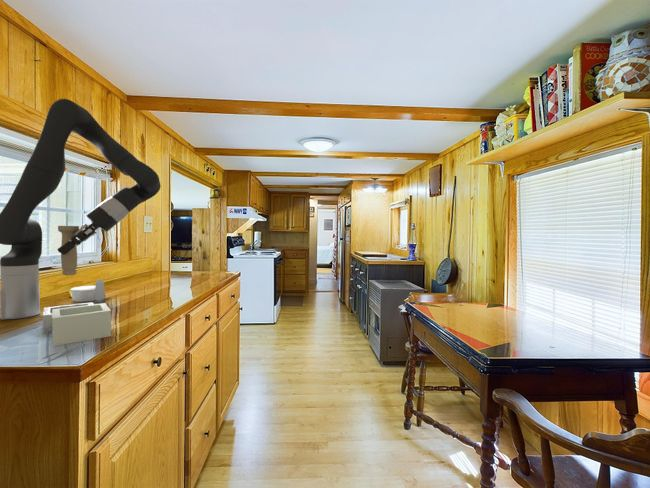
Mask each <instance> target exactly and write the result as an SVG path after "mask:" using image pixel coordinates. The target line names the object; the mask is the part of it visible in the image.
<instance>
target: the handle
mask: <svg viewBox="0 0 650 488" xmlns="http://www.w3.org/2000/svg"><path fill="white" fill-rule="evenodd" d="M79 229H80V226H79V225H57V230H58V231H57V232H60V233H61V245H60V247H62V246H63V245H64V244H66V243H67V242H69V239H71V238H72V237H74V234H75V233H76V232H77V231H78V230H79ZM60 261H61V263H60V264H61V269H62V271H61V273H62V276H74V275H77V268H78V248H77V246H75V247H74V248H73V249H71V250H70V251H69V252H68V253H66V254H65V255H63V254H61V253H60Z"/></svg>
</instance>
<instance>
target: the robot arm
mask: <svg viewBox="0 0 650 488" xmlns="http://www.w3.org/2000/svg"><path fill="white" fill-rule="evenodd" d="M71 133H74V134H76V135H78V136H80V137H82V138H83V139H85V140H86V141H87V142H89V143H90V144H92V145H93V147H95V148H96V149H97V150H98V152H100V154H101V155H102V156H103V157H104V159H105V160H106V161H107V162H108V163H110V164H111V165H112V166H113V167H114V168H115V169H116V170H117V171H119V172H120V173H121V174H123V175H124V176H128V177H130V178H131V179H132V180H133V181H134V182H135V185H133V186H131V187H127V186H126V187H123V188H121V189H119V190H118V191H117V192H114V194H112V195H111V196H110V197H108V198H106V199H104V201H102V202H101V203H99V204H98V205H97V206H96V207H94V208H93V209H91V210H90V211H89V212H88V213H87V214H86V217H87V218H88V220H90V223H89V224H88V223H83V225H82V226H80V227H79V230H78V231H77V232H76V233H75V234H74V237H72V238H71V239H69V242H67V243H66V244H64V245H63V246H62V247H61V246H60V247H58V248H57V251H58V253H60V255H61V254H63V255H65V254H66V253H68V252H69V251H70V250H71V249H73V248H74V247H75V246H76V247H77V246H80V245H82V243H83V242H86V241H87V240H89V239H90V238H91V237H93V236H95V235H96V234H97V230H98V229H101V230H102V231H103V232H106V233H107V232H109V231H110V230H111V229H112V228H114V227H115V226H116V225H118V223H120V222H121V221H123V219H124V218H125V217H126V216H128V215H129V214H130V212H132V211H133V210H134V209H135V208H136V207H138V206H139V205H140V204H142V203H144V202H146V201H147V200H150V199H152V198H153V197H155V196H156V195H157V194H159V192H160V190H161V187H162V186H161V181H160V177H159V175H158V173H157V172H156V171H155V170H154V169H153V168H152V167H151V166H149V165H147V164H145V163H144V162H142V161H140V160H139V159H138V158H137V157H135V156H134V155H133V154H132V153H131V152H130V151H128V150H127V149H126V147H124V146H123V145H121V144H120V142H118V141H117V140H115V139H114V138H113V137H112V136H111V135H109V134H108V132H107V131H106V130H105V129H104V128H103V127H102V126H101V125H100V123H99V122H98V121H97V120H96V119H95V118H94V117H93V115H92V114H91V113H90V112H89V111H88V110H87V109H86V108H84V107H82V105H81V106H80V105H79V104H78V103H76V102H74V101H73V100H70V99H67V98H60V99H57V100H55V101H53V103H52V104H51V105H50V107H49V110H48V112H47V115H46V117H45V121H44V125H43V128H42V131H41V134H40V135H39V138H38V141H37V143H36V144H35V147H34V150H33V152H32V153H31V156H30V158H29V159H28V161H27V163H26V165H25V167H24V169H23V171H22V174H21V176H20V178H19V180H18V182H17V184H16V186H15V188H14V190H13V192H12V193H11V196H10V198H9V200H8V201H7V203H6V204H5V206H4V207H3V209H2V210H1V212H0V245H4V246H10V247H11V248H10V250H9V251H8V253H6V254H5V255H3V256H2V257H0V320H1V321H2V320H16V319H23V318H24V319H25V318H30V317H34V316H37V315H40V314H41V305H40V304H41V302H40V301H41V300H40V299H41V298H40V263H39V262H40V261H39V260H40V258H41V256H42V253H43V251H42V250H43V229H42V227H41V224H40V223H39V222H38V220H35V219H33V218H30V217H31V215H32V214H33V212H34V210H35V209H36V208H37V207H38V206H39V205H40V204H41V203H42V202H44V201H45V200H46V199H48V198H49V197H50V196H51V195H52V194H53V193H54V192H55V191H56V190H57V188H58V187H59V185H60V183H61V181H62V179H63V178H64V177H63V176H64V174H65V171H66V156H65V155H66V154H65V149H66V144H67V141H68V139H69V137H70V135H71Z"/></svg>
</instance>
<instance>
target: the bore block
mask: <svg viewBox="0 0 650 488" xmlns="http://www.w3.org/2000/svg"><path fill="white" fill-rule="evenodd" d="M93 304H94V301H89V302H80V303H75V304H65V305H56V306H48V307H43V313H42V325H43V326H42V327H43V331H42V332H43V334H47V333H53V328H52V309H59V308H68V307H76V306H85V305H93Z"/></svg>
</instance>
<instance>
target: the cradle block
mask: <svg viewBox="0 0 650 488" xmlns="http://www.w3.org/2000/svg"><path fill="white" fill-rule="evenodd" d="M111 311H112V310H111V308H110V307H109V306H108V305H107V303H106V302H105V303H102V304H94V303H93V305H85V306H76V307H68V308H59V309H52V328H53V332H52V347H57V346H62V345H68V344H74V343H79V342H83V341H90V340H96V339H97V340H98V339H103V338H107V337H112V312H111Z"/></svg>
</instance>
